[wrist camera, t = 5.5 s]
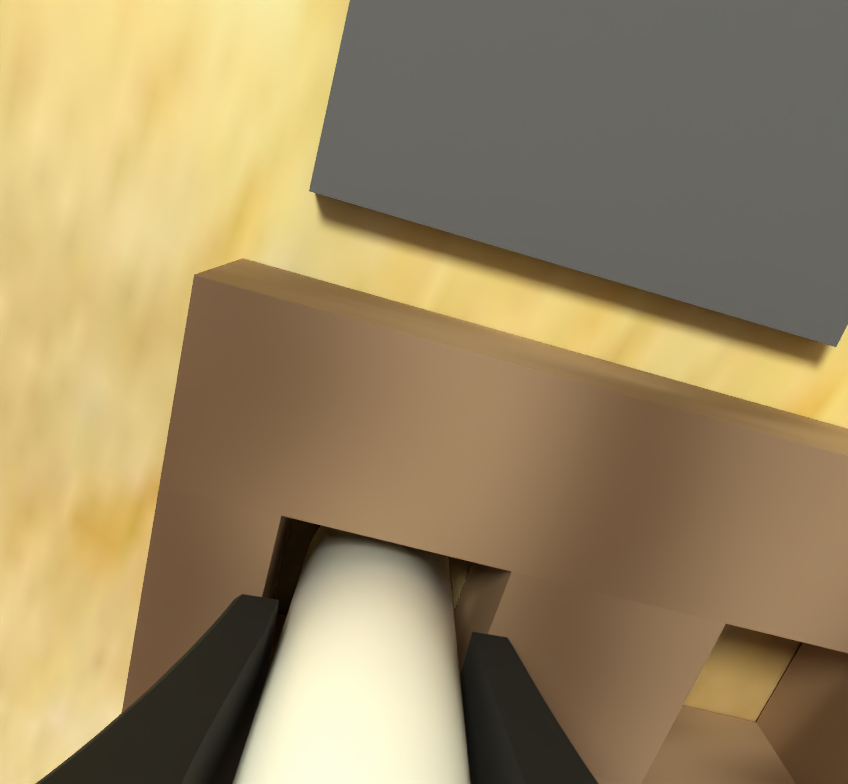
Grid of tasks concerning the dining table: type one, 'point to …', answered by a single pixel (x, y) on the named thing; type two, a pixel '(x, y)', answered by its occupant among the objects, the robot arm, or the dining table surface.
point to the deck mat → (612, 141)
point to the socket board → (514, 514)
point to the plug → (362, 673)
